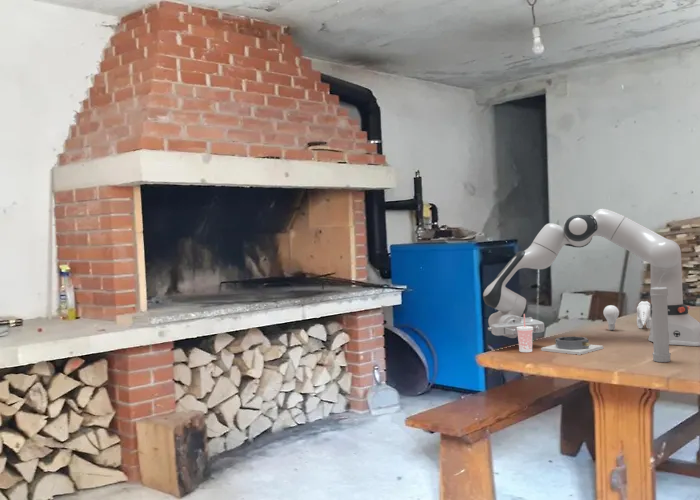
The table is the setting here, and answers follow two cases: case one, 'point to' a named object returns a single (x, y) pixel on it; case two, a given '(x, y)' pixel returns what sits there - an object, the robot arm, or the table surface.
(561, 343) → the collar
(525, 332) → the beverage cup
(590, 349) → the base plate
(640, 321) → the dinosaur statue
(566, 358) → the table surface
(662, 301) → the pipe
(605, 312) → the lightbulb
